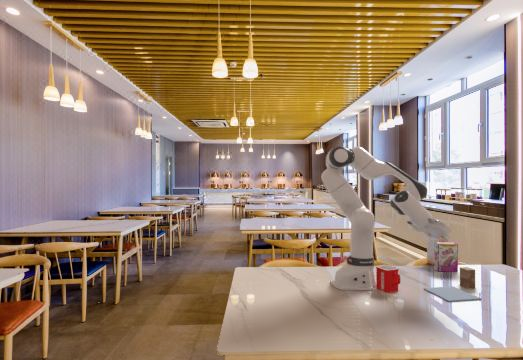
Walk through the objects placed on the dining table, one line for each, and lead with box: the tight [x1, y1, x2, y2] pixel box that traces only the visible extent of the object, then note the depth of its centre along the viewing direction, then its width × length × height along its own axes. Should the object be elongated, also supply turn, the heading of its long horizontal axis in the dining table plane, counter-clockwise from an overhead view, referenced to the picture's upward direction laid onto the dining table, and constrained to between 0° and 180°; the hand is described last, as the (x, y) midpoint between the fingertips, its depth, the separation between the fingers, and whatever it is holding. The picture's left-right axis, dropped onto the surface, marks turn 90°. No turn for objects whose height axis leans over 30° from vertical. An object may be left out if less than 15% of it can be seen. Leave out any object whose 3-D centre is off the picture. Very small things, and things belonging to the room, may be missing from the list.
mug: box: [375, 264, 401, 294], centre depth 148 cm, size 12×8×11 cm
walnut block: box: [459, 266, 476, 289], centre depth 153 cm, size 4×5×9 cm
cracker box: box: [426, 234, 449, 266], centre depth 193 cm, size 14×6×21 cm, turn 179°
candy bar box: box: [433, 242, 459, 273], centre depth 181 cm, size 11×5×16 cm, turn 84°
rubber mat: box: [423, 285, 482, 303], centre depth 143 cm, size 16×16×1 cm
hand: (439, 237), depth 152 cm, fingers open, 8 cm apart
